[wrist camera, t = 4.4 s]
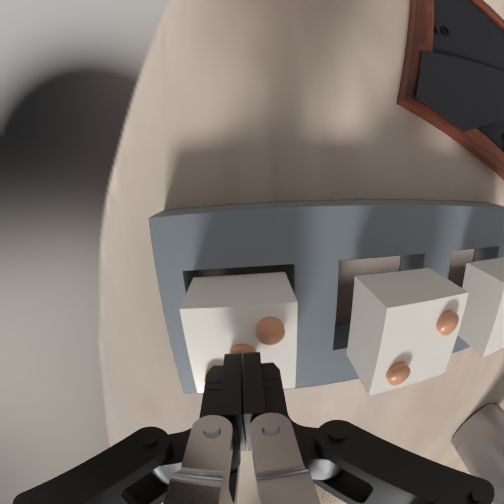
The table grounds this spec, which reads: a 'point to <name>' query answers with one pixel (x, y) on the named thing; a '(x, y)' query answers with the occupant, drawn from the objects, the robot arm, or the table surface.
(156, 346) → the table surface
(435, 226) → the board
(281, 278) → the tile three
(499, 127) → the picture frame
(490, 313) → the tile one
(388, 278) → the tile two
